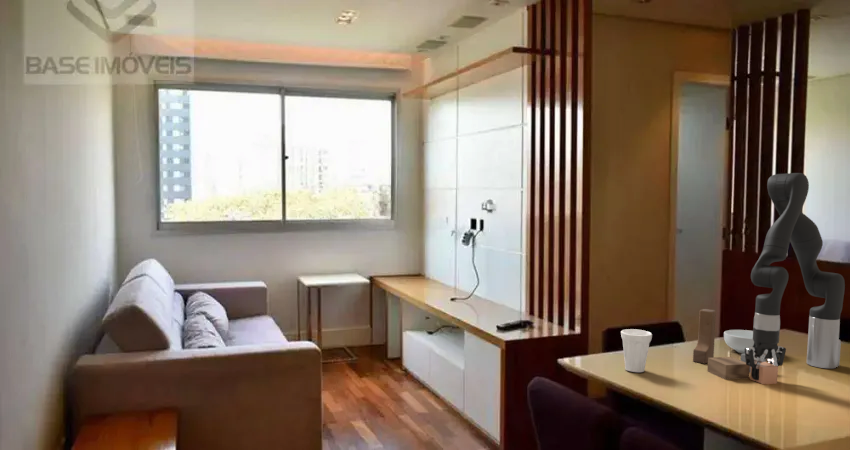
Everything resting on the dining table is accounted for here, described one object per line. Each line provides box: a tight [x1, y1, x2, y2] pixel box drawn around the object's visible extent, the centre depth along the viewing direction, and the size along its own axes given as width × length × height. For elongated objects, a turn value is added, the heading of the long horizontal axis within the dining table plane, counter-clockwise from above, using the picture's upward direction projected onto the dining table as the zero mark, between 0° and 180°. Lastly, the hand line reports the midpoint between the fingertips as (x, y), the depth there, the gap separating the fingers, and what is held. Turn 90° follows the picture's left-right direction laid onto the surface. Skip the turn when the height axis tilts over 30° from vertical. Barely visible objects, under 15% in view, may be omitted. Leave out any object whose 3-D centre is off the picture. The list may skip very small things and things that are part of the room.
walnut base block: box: [706, 356, 750, 380], centre depth 216 cm, size 9×9×5 cm
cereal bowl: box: [723, 329, 755, 354], centre depth 246 cm, size 17×17×7 cm
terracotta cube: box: [749, 361, 779, 385], centre depth 209 cm, size 6×6×6 cm
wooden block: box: [692, 308, 717, 365], centre depth 232 cm, size 9×4×18 cm, turn 139°
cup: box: [620, 328, 653, 373], centre depth 218 cm, size 10×10×13 cm
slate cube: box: [740, 353, 767, 373], centre depth 221 cm, size 6×6×6 cm
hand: (763, 378), depth 210 cm, fingers closed on terracotta cube, 5 cm apart
